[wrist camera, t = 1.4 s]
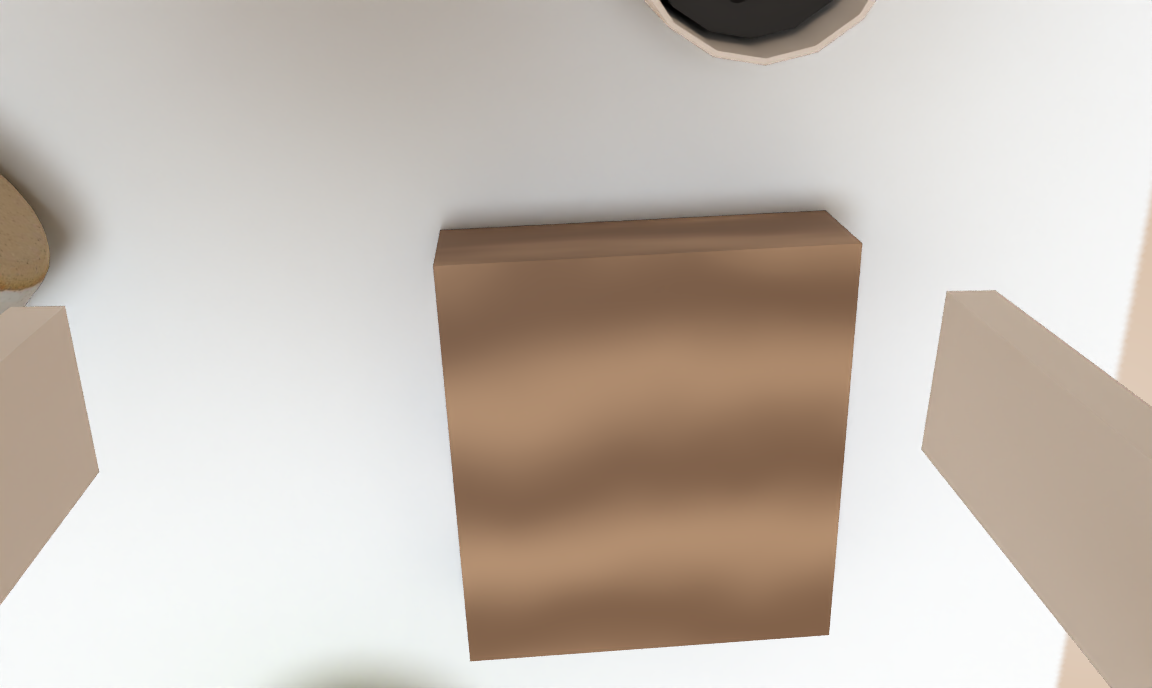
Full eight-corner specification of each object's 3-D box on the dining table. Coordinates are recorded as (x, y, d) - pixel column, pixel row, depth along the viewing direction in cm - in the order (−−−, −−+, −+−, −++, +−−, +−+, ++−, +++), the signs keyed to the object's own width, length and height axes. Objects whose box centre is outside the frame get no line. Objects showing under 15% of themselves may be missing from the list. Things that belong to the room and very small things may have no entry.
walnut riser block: (440, 230, 35) (433, 266, 32) (825, 210, 36) (862, 243, 33) (472, 596, 42) (470, 661, 38) (800, 573, 43) (828, 634, 39)
